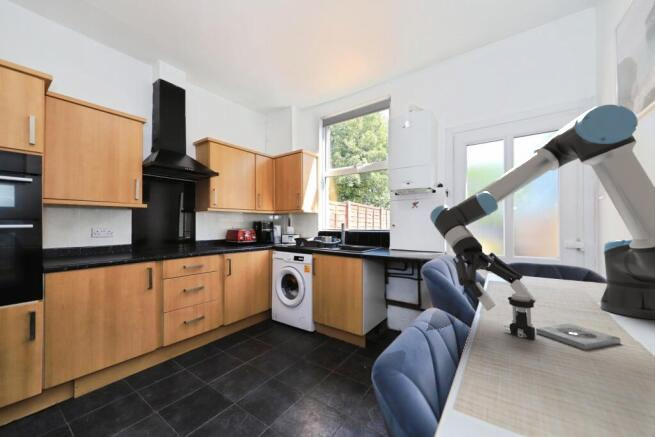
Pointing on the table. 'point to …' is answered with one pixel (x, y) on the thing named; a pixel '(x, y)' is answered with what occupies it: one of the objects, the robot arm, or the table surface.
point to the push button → (521, 316)
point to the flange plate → (578, 336)
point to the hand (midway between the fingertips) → (512, 305)
